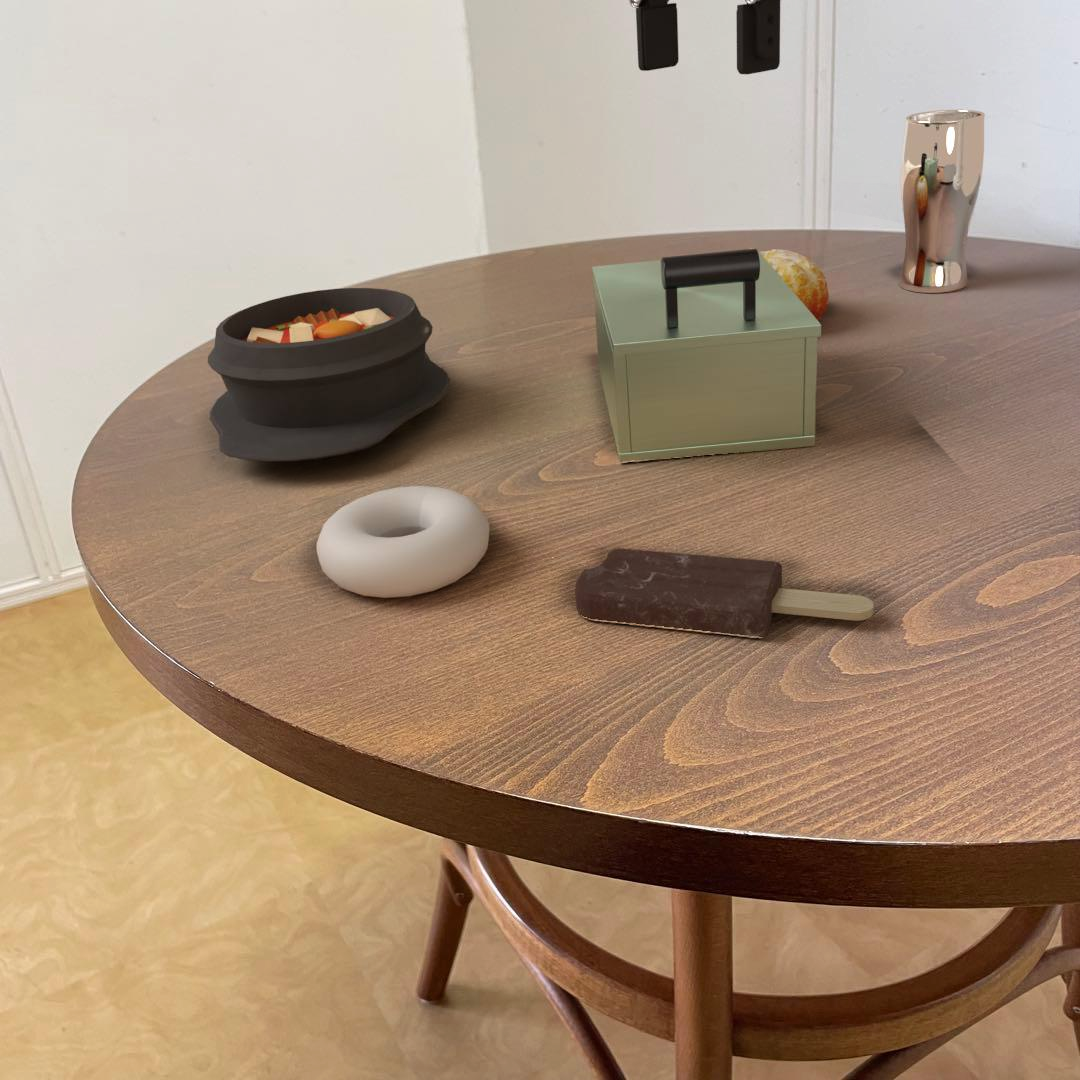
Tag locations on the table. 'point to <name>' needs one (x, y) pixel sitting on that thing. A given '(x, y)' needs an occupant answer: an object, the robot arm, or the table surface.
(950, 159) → the beer glass
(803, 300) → the fruit
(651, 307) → the freezer lid
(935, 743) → the table surface
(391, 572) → the donut
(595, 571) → the ice cream bar
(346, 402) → the casserole
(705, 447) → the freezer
